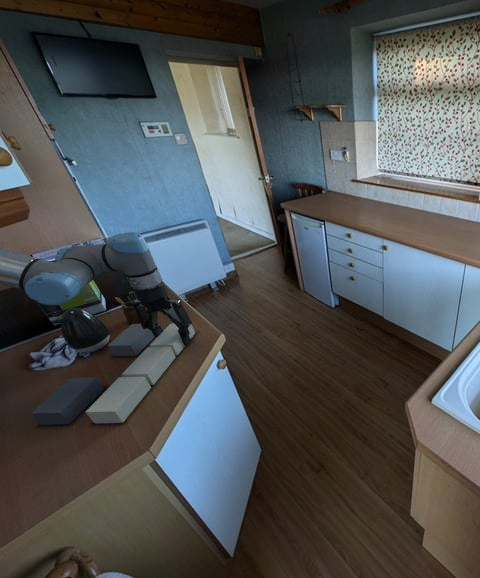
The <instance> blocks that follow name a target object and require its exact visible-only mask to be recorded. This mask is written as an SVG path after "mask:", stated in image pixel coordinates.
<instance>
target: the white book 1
mask: <svg viewBox="0 0 480 578" xmlns="http://www.w3.org/2000/svg"><path fill="white" fill-rule="evenodd" d="M151 389H152V385H149V383H148V381H147V380H146V378H145V377H123V376H121V377H120V376H118V377H117V378H116V380H115V381H114V382H113V383H112V384H110V386H109V387H108V388H107V389H106V390H105V391H104V392H103V393H102V394H101V395H100V396H99V397H98V399H97V400H96V401H95V402H94V403H92V405H91V406H90V407H88V409H87V410H85V414H86V415H87V416H88V418H90V420H91V421H92V423H94V424H123V423H124V422H125V421H126V420H127V418H128V417H129V416H130V415H131V414H132V413H133V411H134V410H135V408H136V407H137V406H138V405H139V404H140V402H141V401H142V400H143V399H144V398H145V396H146V395H147V394H148V392H149V391H150V390H151Z"/></svg>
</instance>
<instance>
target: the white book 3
mask: <svg viewBox="0 0 480 578" xmlns="http://www.w3.org/2000/svg"><path fill="white" fill-rule="evenodd" d="M178 330H179V328H178V327H177V326H176V325H175V324H174V323H173V322H172V323H170V324H169V325H167V327H166V328H165V329H163V332H162V333H161V334H160V335H159V336H158V337H157V338H156V337H155V339H154V340H153V341H151V343H149V347H171V349H172V351H173V353H174V355H175V356H179V355H180V353H181V352H182V350H184V348H185V347H186V346H184V343H183V341H182V339H181V337H180V335H179V333H178ZM188 330H189V332H190V334H189V337H190V339H191V340H192V338H193V337H194V336H195V335H196V331H195V329H194V327H193V323H192V324H191V325H190V326H189V327H188Z"/></svg>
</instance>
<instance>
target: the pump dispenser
mask: <svg viewBox="0 0 480 578" xmlns="http://www.w3.org/2000/svg"><path fill="white" fill-rule="evenodd" d="M50 323H51V324H52V325H53V324H57V325H59V324H58V323H61V324H60V329H61V334H62V337H63V339H64V342H65V343H66V346H67V347H68V348H69V349H71V350H73V351H74V352H77V351H78V353H81V352H87V353H86V354H88V353H89V354H90V353H93V352H96V351H99V350H101V349H102V348H104V347H105V346H106V345H108V344H109V341H110V332H111V331H110V329H109V328H108V326H107V325H105V324H104V322H102V320H100V318H98V317H97V316H96V315H94V314H91V313H90V312H88V311H86V310H84V309H81V308H71V309H68V310H66V311H65V312H64V313H63V315H62V317H61V319H57V320H53V321H50Z"/></svg>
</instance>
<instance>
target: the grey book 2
mask: <svg viewBox="0 0 480 578" xmlns="http://www.w3.org/2000/svg"><path fill="white" fill-rule="evenodd" d="M154 338H155V337H154V335H153V333H152V331H151V330H149V329H147V328H146V329H143V328H142V326H141V323H135V324H132V323H131V325H129V326H128V327H126V329H125V330H123V331H122V332H121V333H120V334H119V335H117V337H115V338H114V339H113V340H112V341H111V342H110V343H108V344H107V348H108V349H109V350H110V352H111V354H112V355H113V356H114V357H137V356H139V354H140V353H142V352H143V350H144V349H145V347H146V346H148V345H149V344H150V342H152V340H153V339H154Z"/></svg>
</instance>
